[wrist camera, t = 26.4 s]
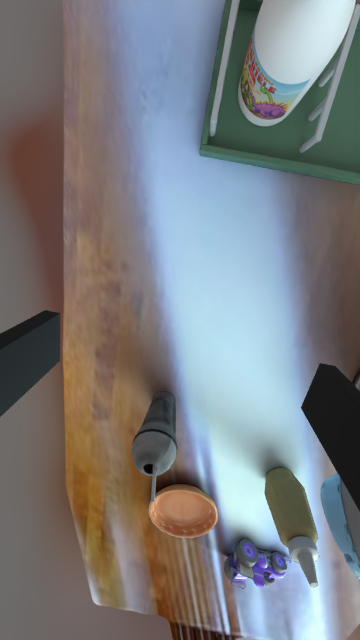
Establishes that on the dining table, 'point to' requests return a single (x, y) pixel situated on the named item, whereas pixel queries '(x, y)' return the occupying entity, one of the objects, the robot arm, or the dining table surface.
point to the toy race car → (254, 565)
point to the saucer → (183, 511)
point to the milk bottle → (289, 54)
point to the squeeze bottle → (293, 519)
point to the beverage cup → (156, 439)
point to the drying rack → (303, 121)
